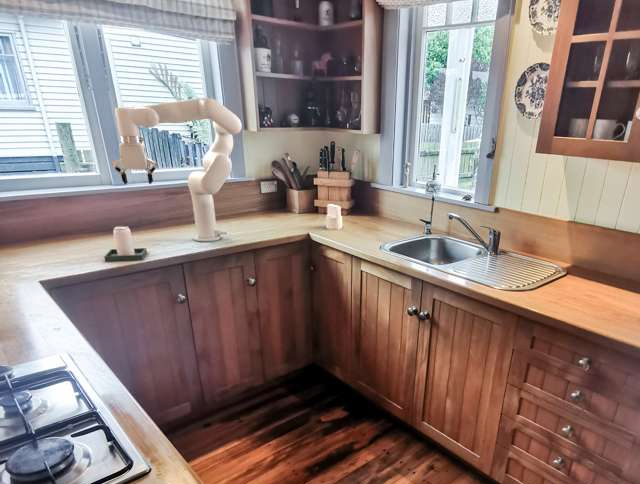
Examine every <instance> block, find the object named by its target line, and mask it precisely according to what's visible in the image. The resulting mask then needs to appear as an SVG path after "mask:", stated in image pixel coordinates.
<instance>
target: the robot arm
mask: <svg viewBox="0 0 640 484" xmlns="http://www.w3.org/2000/svg"><path fill="white" fill-rule="evenodd" d="M114 110H115V111H114V114H115V118H116V124H117V130H118V135H119V140H120V143H119V148H118V150H119V158H118V159H116V160H114V161H112V162H111V165H112V166H113V168H114V170H116V172H118V173H119V174H120V177H121V181H122V182H123V184H124V185H127V184H128V178H127V173H126V171H127V170H141V171H142V170H144V171H145V172H147V180H148V185H151V184H153V182H154V179H153V178H154V177H153V172H155V170H156V169H157V166H158V163H157V162H156V161H155V160H152V159H150V158H148V154H147V150H146V147H145V145H144V143H142V142H145V137H143V136H141V135H140V129H139V128H140V127H142V128H154V127H156V126H157V125H158V124H183V123H189V122H194V121H195V122H196V121H201V120H211V121H212V127H213V129H214V134H215V139H214V141H213V143H212V145H211V146H210V148H209V149H208V151H207V152H206V154H205V155H204V157H203V159H202V162H201V163H202V167H203V169H204V170H205V171H201V170H194V171H193V172H191V173H189V175H188V178H187V186H188V189H189V192H190V196H191V203H192V209H193V217H194V218H193V219H194V225H195V232H196V234H194V235H193V240H194V241H197V242H215V241H218V240H221V238H222V236H227V234H228V233H227V230H225V229H224V230H223V229H221V230H220V229H219V228H218V227H217V221H216V220H217V219H216V212H215V203H214V197H213V196H214V195H216V194H217V193H218V192H219V191H220V189H221V188H223V187H222V186H223V185H224V184H225V182H226V181H227V180H228V178H229V176H230V174H231V173H232V169H233V163H232V160H231V158H230V155H231V154H232V151H233V148H234V136H236V135H238V134H239V133H241V131H242V127H243V126H242V122H241V119H240V118H239V117H238V115H236V114H235V113H234V112H233V111H231V110H230V109H228V108H227V107H225V106H224V105H223V104H222V103H220V102H219V101H218V100H216V99H215V98H211V97H197V98H191V99H183V100H176V101H169V102H164V103H158V104H150V105H142V106H137V107H134V108H133V107H123V106H121V107H120V106H118V107H116V108H115V109H114ZM118 164H120V166H121V168H120V167H119V165H118ZM150 164H151V165H152V167H151V168H150Z"/></svg>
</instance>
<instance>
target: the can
mask: <svg viewBox="0 0 640 484" xmlns="http://www.w3.org/2000/svg"><path fill="white" fill-rule="evenodd" d="M131 231H132V230H131V229H130V228H129V226H128V225H117V226H114V227H113V231H112V233H113V234H112V235H113V239H114V243H115V249H117V253H118V256H124V255H135V252H134V248H135V246H134V241H133V237H132V232H131Z"/></svg>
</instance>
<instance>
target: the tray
mask: <svg viewBox="0 0 640 484" xmlns="http://www.w3.org/2000/svg"><path fill="white" fill-rule="evenodd" d="M134 252H135V255H124V256H118V253H117V248H110V249H109V251H108V252H106V254H105V255H104V261H105V262H124V261H125V262H127V261H143V260H144V258H145V256H146V255H147V253H148V251H147V247H139V248H138V247H134Z"/></svg>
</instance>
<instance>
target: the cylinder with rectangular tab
mask: <svg viewBox="0 0 640 484" xmlns="http://www.w3.org/2000/svg"><path fill="white" fill-rule="evenodd" d="M326 208H327V209H326V215H325V228H326V229H328V230H340V229H341V230H342V228H343V216H342V211H341V210H342V207H341V205H337V204H333V203H329V204H327V205H326Z"/></svg>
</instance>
